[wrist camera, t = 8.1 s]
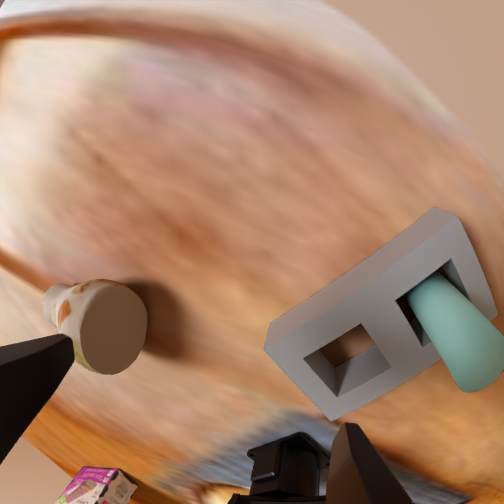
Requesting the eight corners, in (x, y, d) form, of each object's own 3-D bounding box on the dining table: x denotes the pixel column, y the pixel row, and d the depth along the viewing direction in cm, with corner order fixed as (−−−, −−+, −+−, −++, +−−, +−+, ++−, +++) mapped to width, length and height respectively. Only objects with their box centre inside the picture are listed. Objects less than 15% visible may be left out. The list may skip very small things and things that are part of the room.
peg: (443, 287, 19) (514, 364, 9) (411, 311, 19) (464, 402, 10) (426, 254, 18) (503, 322, 9) (393, 280, 19) (447, 365, 10)
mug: (53, 261, 24) (10, 277, 15) (150, 271, 27) (149, 293, 18) (54, 336, 25) (19, 380, 15) (146, 346, 28) (147, 398, 18)
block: (476, 294, 18) (498, 314, 15) (329, 391, 22) (330, 421, 19) (434, 206, 17) (457, 215, 14) (270, 322, 22) (263, 349, 18)
